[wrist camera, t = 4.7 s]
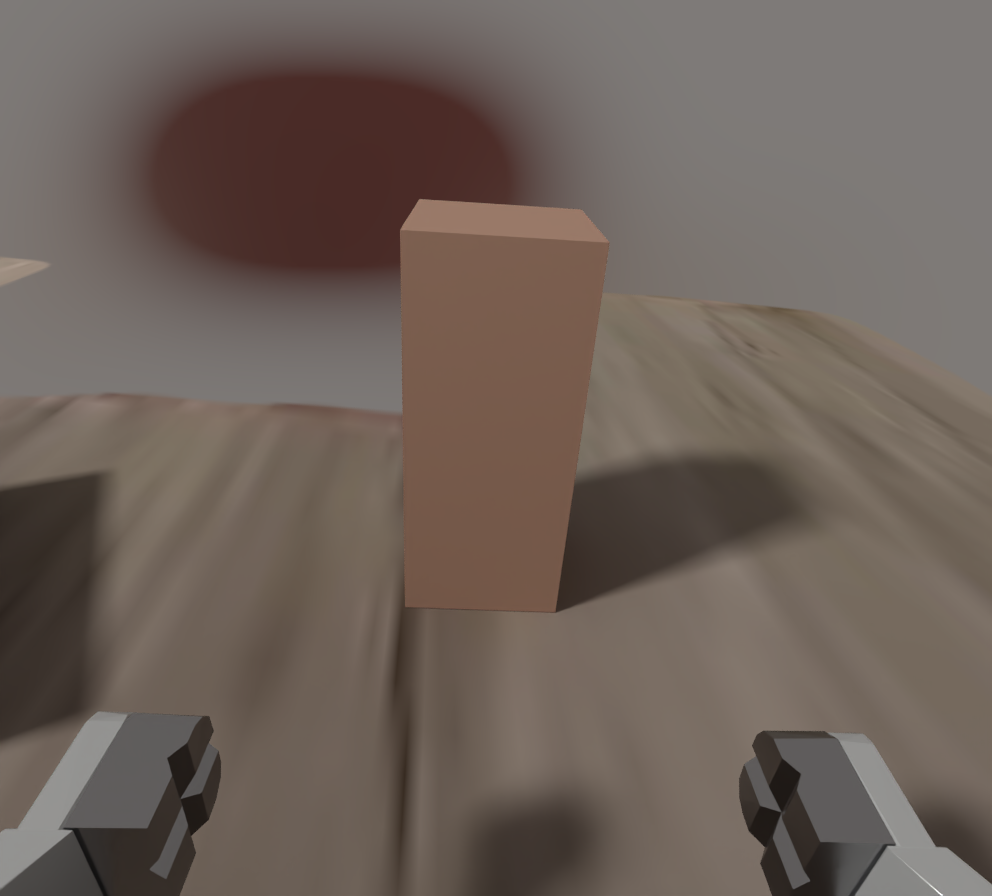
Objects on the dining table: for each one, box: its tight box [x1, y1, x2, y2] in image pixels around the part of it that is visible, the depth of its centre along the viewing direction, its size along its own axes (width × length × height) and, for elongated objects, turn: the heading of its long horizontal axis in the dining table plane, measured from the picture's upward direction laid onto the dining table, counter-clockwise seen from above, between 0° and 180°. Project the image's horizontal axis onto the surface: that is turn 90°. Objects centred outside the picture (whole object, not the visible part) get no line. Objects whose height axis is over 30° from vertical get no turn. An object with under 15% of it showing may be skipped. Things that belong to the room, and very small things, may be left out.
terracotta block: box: [400, 199, 609, 612], centre depth 20 cm, size 5×5×12 cm
